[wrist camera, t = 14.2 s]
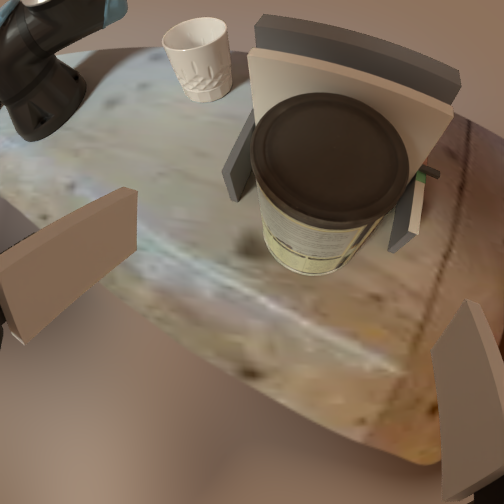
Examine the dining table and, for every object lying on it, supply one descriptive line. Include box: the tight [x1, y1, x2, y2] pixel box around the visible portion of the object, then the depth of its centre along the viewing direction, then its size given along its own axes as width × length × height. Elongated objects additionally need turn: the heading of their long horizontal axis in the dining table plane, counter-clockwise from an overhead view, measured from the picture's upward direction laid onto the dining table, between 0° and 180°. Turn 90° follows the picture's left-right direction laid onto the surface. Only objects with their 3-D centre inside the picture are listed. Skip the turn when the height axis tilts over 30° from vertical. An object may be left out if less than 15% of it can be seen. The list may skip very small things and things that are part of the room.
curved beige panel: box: [247, 48, 454, 184], centre depth 25 cm, size 1×18×14 cm, turn 70°
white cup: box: [162, 17, 232, 103], centre depth 34 cm, size 8×8×10 cm
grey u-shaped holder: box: [222, 14, 461, 253], centre depth 26 cm, size 13×18×15 cm
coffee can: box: [250, 92, 409, 276], centre depth 25 cm, size 10×10×14 cm
